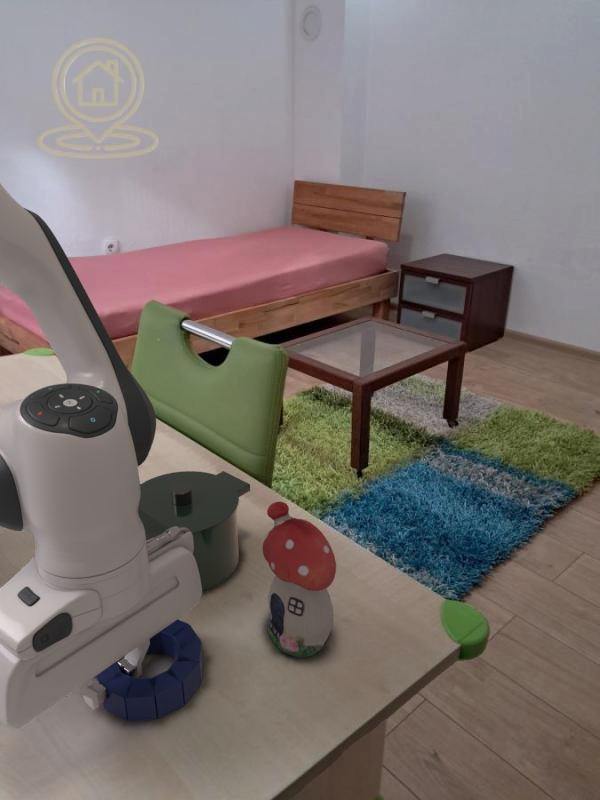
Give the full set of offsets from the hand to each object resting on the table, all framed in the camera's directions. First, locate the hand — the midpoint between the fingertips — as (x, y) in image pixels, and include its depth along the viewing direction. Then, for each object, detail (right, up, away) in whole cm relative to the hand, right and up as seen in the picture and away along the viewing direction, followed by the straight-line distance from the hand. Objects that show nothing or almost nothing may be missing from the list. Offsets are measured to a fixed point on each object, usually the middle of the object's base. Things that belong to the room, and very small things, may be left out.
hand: (113, 688), depth 59 cm
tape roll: (+3, 0, +3) cm, 4 cm away
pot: (+2, +6, +18) cm, 20 cm away
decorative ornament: (+17, +2, +9) cm, 20 cm away
